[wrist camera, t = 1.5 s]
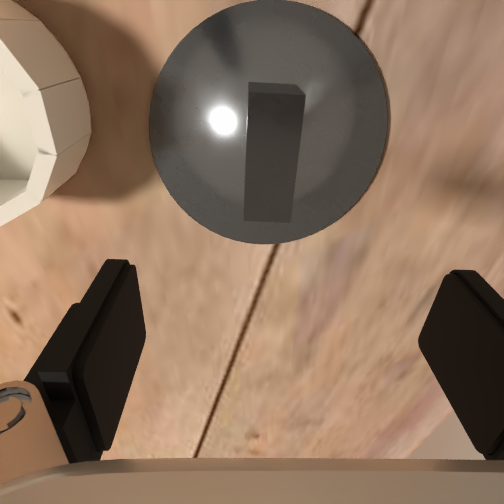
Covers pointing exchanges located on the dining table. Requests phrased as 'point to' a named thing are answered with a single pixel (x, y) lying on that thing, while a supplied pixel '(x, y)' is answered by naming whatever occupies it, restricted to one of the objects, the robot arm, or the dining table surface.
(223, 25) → the lid
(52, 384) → the robot arm
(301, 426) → the dining table surface
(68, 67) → the bowl
